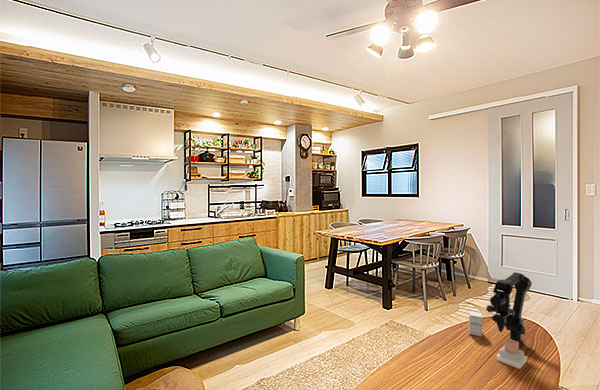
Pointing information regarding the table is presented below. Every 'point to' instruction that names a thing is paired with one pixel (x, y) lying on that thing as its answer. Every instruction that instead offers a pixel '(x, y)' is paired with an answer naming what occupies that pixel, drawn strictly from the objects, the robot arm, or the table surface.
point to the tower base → (512, 363)
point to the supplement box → (475, 323)
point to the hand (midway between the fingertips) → (503, 329)
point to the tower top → (511, 355)
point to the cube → (511, 346)
